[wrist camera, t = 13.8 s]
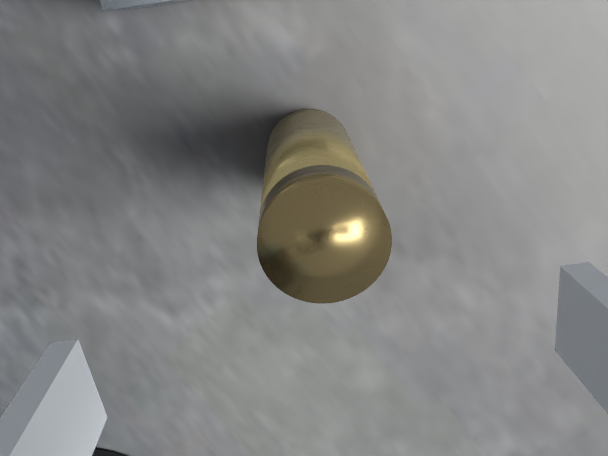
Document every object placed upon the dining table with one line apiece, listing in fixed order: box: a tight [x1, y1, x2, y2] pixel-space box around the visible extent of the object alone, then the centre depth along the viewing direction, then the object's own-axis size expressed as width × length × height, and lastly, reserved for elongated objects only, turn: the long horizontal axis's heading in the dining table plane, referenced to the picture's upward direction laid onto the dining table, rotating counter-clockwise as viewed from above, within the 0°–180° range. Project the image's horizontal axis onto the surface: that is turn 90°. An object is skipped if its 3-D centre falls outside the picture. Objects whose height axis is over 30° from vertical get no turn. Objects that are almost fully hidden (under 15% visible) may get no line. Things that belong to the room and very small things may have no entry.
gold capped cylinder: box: [257, 109, 392, 303], centre depth 25 cm, size 5×5×13 cm
